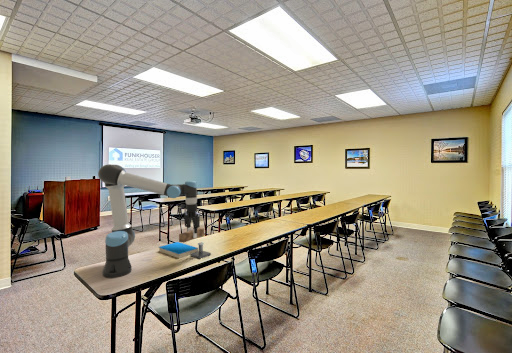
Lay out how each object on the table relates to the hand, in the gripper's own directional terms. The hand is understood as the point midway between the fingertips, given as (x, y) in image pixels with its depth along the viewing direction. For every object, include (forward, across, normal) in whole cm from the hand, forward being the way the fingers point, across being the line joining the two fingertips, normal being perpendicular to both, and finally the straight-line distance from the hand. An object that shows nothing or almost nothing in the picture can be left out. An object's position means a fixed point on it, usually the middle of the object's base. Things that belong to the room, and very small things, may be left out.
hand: (192, 237), depth 172 cm
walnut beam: (+1, 0, 0) cm, 1 cm away
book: (+15, +20, -6) cm, 26 cm away
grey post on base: (+15, 0, -7) cm, 16 cm away
